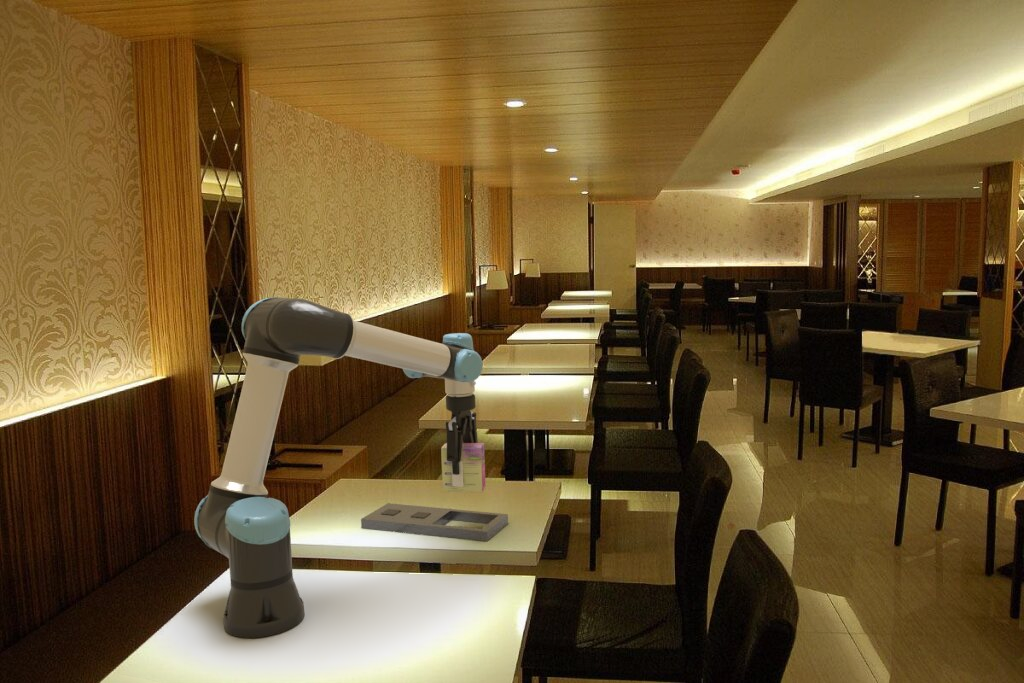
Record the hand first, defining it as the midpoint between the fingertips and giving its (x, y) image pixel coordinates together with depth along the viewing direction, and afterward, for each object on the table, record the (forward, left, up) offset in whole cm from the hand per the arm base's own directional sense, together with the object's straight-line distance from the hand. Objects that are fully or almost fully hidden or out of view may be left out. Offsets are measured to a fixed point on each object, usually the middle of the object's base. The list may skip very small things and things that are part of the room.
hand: (464, 482), depth 206 cm
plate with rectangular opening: (0, +9, -12) cm, 15 cm away
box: (0, 0, -2) cm, 2 cm away
